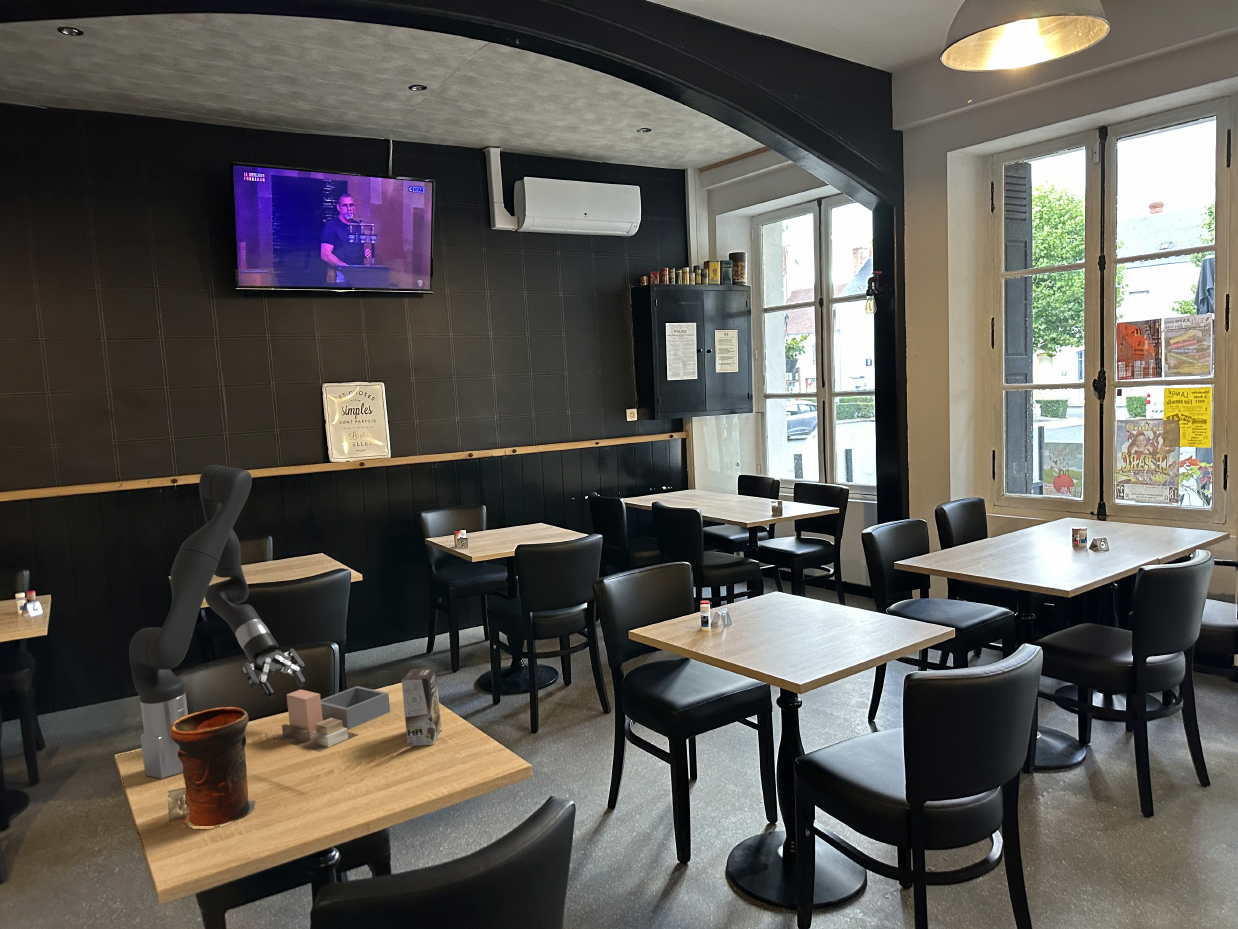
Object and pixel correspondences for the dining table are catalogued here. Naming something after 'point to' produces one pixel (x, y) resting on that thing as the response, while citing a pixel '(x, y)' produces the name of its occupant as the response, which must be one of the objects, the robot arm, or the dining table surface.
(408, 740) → the coffee box
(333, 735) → the block
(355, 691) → the charcoal bin
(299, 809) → the dining table surface
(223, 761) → the vessel
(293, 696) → the salmon pink block
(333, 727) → the upper offcut
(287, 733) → the walnut rack
